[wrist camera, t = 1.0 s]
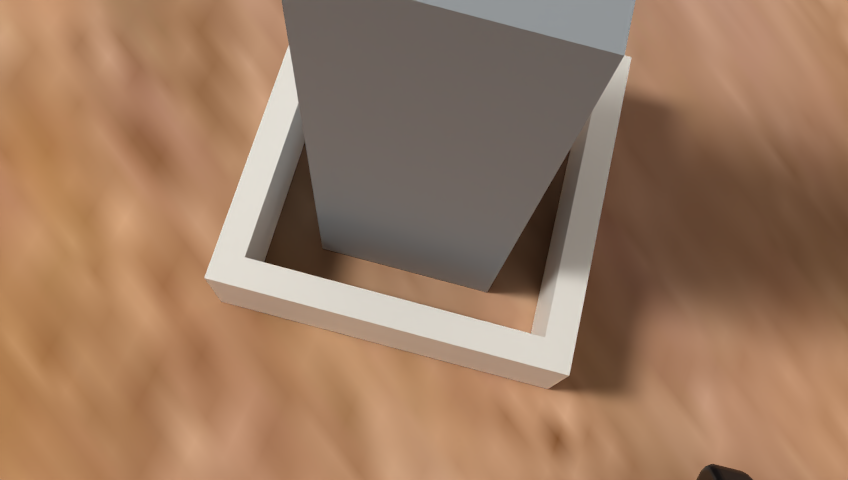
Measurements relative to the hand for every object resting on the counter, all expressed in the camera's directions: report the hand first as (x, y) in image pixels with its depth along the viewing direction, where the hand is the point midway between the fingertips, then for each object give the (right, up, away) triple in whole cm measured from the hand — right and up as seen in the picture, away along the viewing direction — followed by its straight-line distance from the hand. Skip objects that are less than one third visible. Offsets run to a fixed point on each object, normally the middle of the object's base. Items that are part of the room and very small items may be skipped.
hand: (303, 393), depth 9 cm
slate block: (+1, +3, +15) cm, 16 cm away
